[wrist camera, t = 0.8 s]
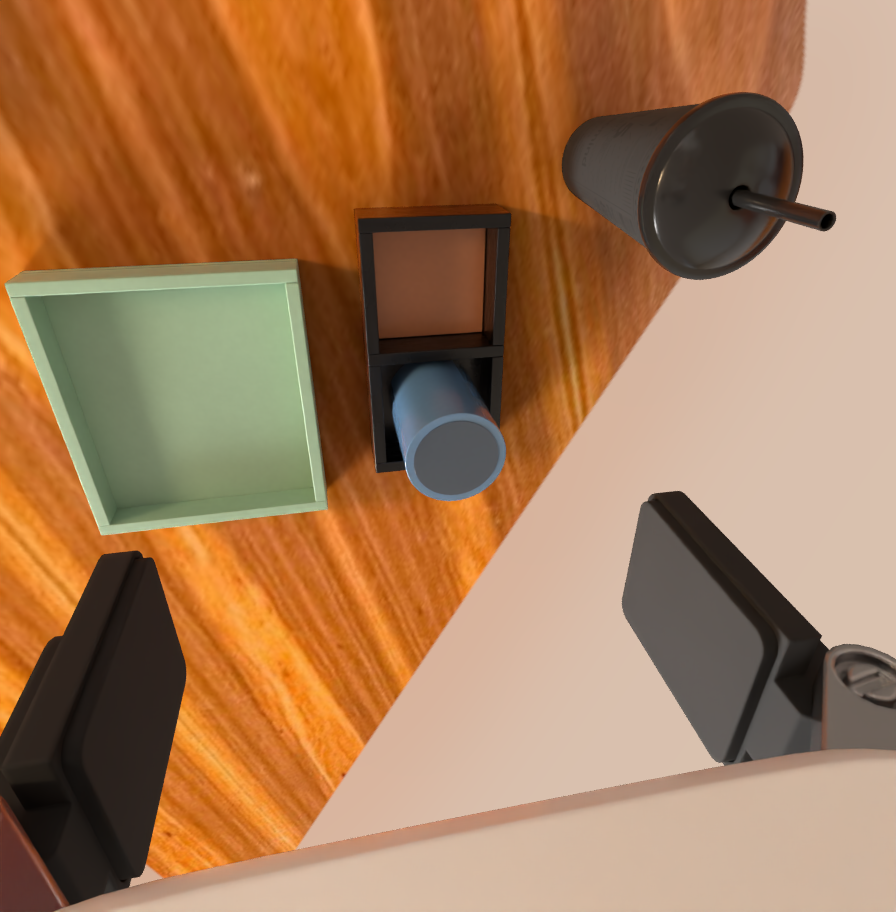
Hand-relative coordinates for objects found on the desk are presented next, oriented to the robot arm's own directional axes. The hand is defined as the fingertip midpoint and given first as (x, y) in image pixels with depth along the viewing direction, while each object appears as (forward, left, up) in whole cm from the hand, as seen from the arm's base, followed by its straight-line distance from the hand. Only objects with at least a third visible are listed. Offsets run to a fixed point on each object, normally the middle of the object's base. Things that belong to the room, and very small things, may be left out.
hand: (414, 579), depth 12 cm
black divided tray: (+7, +5, -31) cm, 32 cm away
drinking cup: (-4, +16, -31) cm, 35 cm away
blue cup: (+11, +5, -30) cm, 33 cm away
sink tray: (+10, -11, -31) cm, 34 cm away
